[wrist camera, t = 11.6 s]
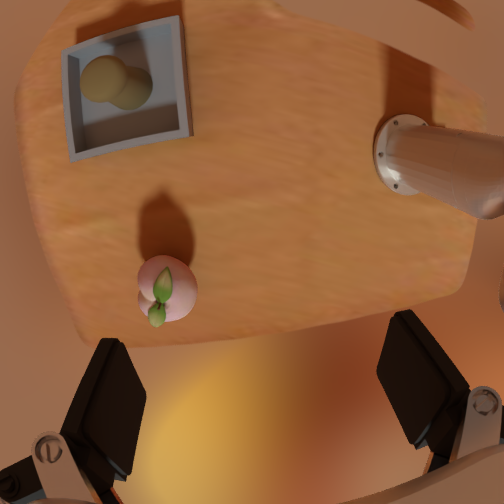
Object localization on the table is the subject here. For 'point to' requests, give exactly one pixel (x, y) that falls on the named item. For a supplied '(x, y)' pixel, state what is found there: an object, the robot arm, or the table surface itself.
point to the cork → (115, 83)
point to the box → (138, 120)
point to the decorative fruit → (166, 289)
